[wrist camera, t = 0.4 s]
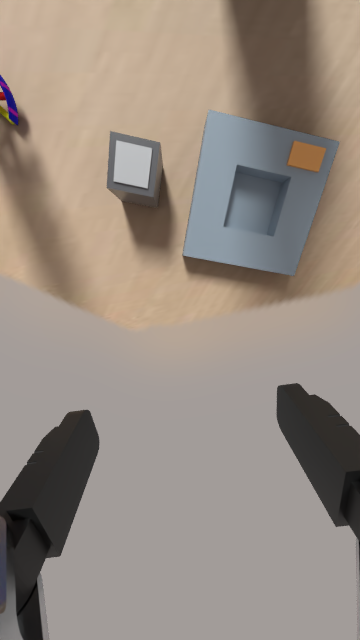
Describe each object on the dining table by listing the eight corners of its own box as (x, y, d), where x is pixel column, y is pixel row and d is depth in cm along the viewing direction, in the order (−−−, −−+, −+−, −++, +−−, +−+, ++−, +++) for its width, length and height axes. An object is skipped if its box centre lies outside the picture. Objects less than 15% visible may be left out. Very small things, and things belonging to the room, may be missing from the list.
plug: (125, 158, 28) (109, 130, 21) (163, 167, 29) (160, 141, 22) (121, 200, 30) (106, 187, 23) (157, 208, 30) (153, 196, 23)
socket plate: (205, 124, 27) (209, 107, 24) (323, 152, 28) (341, 140, 25) (182, 254, 32) (183, 255, 29) (283, 273, 33) (295, 276, 30)
